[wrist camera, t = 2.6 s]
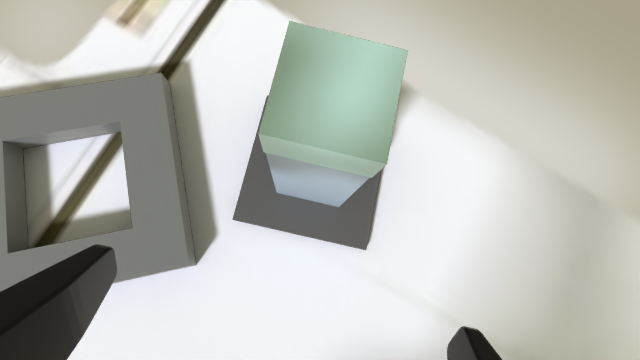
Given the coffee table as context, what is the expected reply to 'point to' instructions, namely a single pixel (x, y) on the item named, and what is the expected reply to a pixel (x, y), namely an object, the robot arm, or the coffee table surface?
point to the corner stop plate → (303, 206)
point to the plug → (330, 113)
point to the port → (140, 163)
